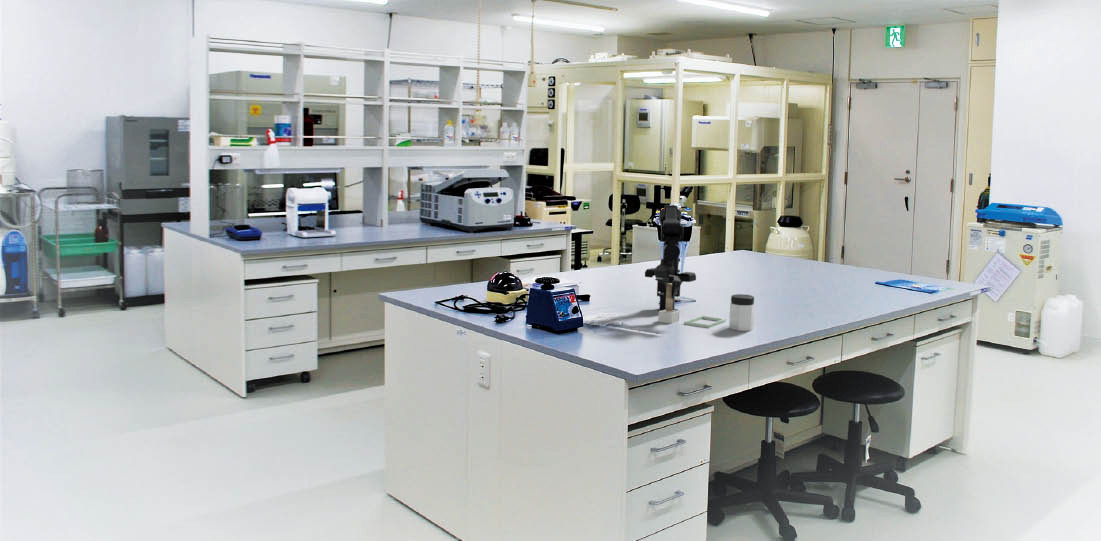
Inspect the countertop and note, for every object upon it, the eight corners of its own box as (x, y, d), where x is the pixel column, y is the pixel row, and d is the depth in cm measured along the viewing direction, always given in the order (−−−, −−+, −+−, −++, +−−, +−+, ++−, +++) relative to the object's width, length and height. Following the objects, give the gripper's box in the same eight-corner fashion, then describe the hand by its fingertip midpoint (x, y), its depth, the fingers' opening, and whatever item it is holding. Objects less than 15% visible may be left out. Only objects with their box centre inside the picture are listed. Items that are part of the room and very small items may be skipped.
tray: (701, 320, 338) (701, 315, 337) (725, 323, 332) (726, 319, 332) (684, 326, 327) (684, 321, 326) (708, 330, 321) (708, 325, 320)
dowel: (667, 309, 332) (668, 283, 331) (673, 310, 331) (674, 283, 329) (664, 310, 330) (665, 283, 329) (670, 311, 329) (671, 284, 327)
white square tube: (665, 321, 335) (666, 309, 335) (678, 323, 332) (679, 311, 331) (658, 323, 331) (658, 311, 330) (671, 325, 328) (671, 313, 327)
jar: (732, 325, 330) (734, 293, 328) (754, 327, 326) (756, 295, 324) (727, 329, 322) (728, 297, 320) (749, 332, 318) (751, 299, 316)
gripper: (637, 256, 327) (636, 297, 329) (682, 260, 316) (681, 304, 318) (653, 253, 336) (651, 293, 338) (697, 257, 325) (695, 299, 327)
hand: (669, 297), depth 330 cm, fingers closed on dowel, 3 cm apart
